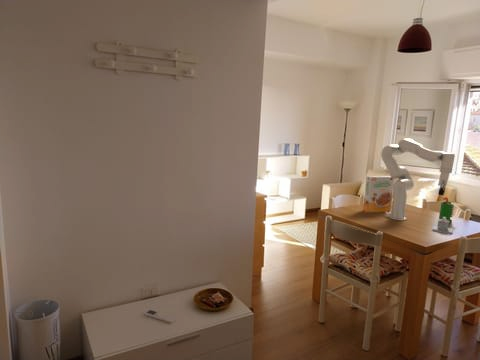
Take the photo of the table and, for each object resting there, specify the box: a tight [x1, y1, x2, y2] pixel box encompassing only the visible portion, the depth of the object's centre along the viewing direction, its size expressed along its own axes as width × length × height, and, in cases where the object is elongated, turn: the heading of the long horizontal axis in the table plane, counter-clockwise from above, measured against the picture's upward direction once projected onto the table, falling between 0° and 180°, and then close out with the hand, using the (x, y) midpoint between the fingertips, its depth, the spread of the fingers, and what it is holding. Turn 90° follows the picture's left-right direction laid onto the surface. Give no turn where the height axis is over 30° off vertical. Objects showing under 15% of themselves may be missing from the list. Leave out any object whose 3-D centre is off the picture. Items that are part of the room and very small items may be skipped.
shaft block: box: [432, 217, 454, 235], centre depth 245 cm, size 12×12×10 cm
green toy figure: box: [438, 196, 455, 225], centre depth 265 cm, size 10×9×20 cm
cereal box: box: [362, 175, 395, 213], centre depth 292 cm, size 22×6×30 cm, turn 104°
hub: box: [437, 218, 450, 229], centre depth 245 cm, size 7×7×5 cm
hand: (441, 193), depth 245 cm, fingers open, 9 cm apart
